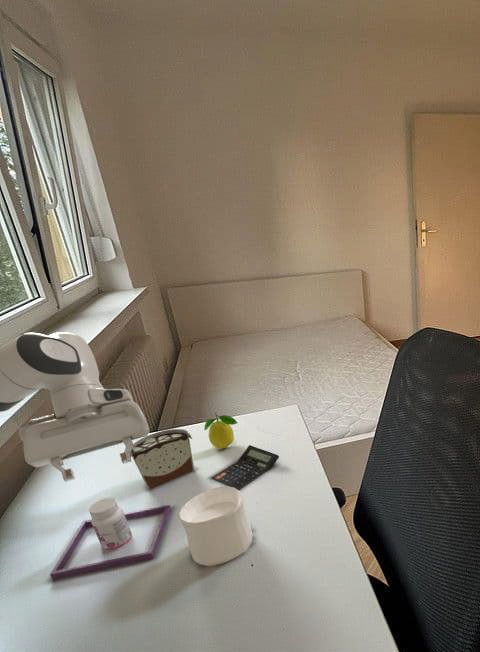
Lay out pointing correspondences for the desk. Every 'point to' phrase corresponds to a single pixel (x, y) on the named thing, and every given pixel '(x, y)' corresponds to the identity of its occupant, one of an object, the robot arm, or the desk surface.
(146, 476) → the food container
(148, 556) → the purple square frame
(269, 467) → the calculator
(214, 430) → the lemon
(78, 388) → the robot arm
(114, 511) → the pill bottle
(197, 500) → the cup
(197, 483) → the desk surface
